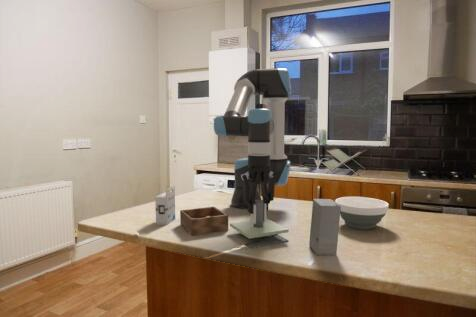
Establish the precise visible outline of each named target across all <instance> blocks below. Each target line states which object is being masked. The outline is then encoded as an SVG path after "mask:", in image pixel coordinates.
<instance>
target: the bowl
mask: <svg viewBox="0 0 476 317" xmlns="http://www.w3.org/2000/svg"><path fill="white" fill-rule="evenodd" d="M334 202H337V204H338V205H340V206H341V210H340V218H341V219H342V220H343V221H344V224H345V225H346V226H347V227H349V228H351V229H356V230H364V231H366V230H373V229H375V228H376V227H377V225H378V224H379V223H380V222H381V221H382V219H383V218H384V217H385V216H386V214H387V213H388V211H389V203H388V202H387V201H385V200H381V199H379V198H374V197H366V196H342V197H338V198H336V199H335V200H334Z"/></svg>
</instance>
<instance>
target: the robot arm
mask: <svg viewBox="0 0 476 317" xmlns="http://www.w3.org/2000/svg"><path fill="white" fill-rule="evenodd" d="M290 75H291V74H290V71H289V70H288V69H287V68H280V67H279V68H276V67H275V68H259V69H258V68H256V69H252V70H249V71H247V72H245V73H244V74H242V75H241V76H240V77H239V78H238V79H237V80H236V82H235V84H234V88H233V94H232V97H231V99H230V101H229V104H228V106H227V108H226V110H225V112H224V115H217V116H215V118H214V121H213V132H214V133H215V135H216V136H221V137H248V139H247V153H248V156H247V157H243V158H239V159H236V160H235V161H234V162H235V163H234V169H233V171H234V191H233V194H232V197H231V200H230V205H231V206H232V207H234V208H237V209H238V208H239V209H248V212H247V213H248V214H250V220H249V221H250V222H252V223H254V224H256V205H255V204H254V201H255V200H263V201H264V205H263V222H266V219H267V213H268V212H269V205H270V203H271V201H272V202H273V201H274V199H275V186H286V185H287V184H288V180H289V178H290V170H291V161H290V160H288V156H287V155H286V154H285V116H286V114H285V110H286V109H285V106H286V105H285V104H286V102H287V100H288V99H289V96H290V95H292V84H291V76H290ZM254 96H262V100H263V101H264V102H265V108H251V109H249V110H248V112H247V114H248V115H246V111H247V108H248V106H249V103H250V101H251V99H252V98H253V97H254ZM259 185H260V190H259ZM260 191H261V193H260ZM261 196H262V197H261Z"/></svg>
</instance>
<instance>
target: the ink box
mask: <svg viewBox="0 0 476 317" xmlns="http://www.w3.org/2000/svg"><path fill="white" fill-rule="evenodd" d="M175 189H176V188H175V185H173V186H170V187H169V188H167V189H165V192H162V193H161V194H159V195H156V196H155V197H154V198H155V201H154V202H155V225H160V226H161V225H162V226H168V225H169V224H170V223H172V222H173V221H175V220H176V192H175V191H176V190H175Z"/></svg>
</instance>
